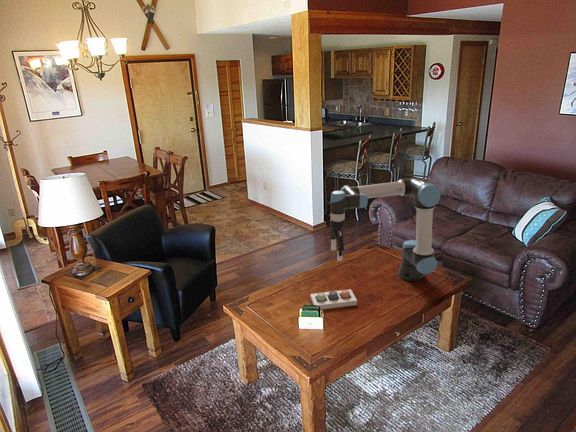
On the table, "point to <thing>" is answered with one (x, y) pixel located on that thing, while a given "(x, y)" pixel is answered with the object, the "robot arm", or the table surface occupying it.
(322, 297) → the button sage
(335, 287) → the table surface
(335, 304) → the board
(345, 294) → the button terracotta
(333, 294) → the button charcoal
